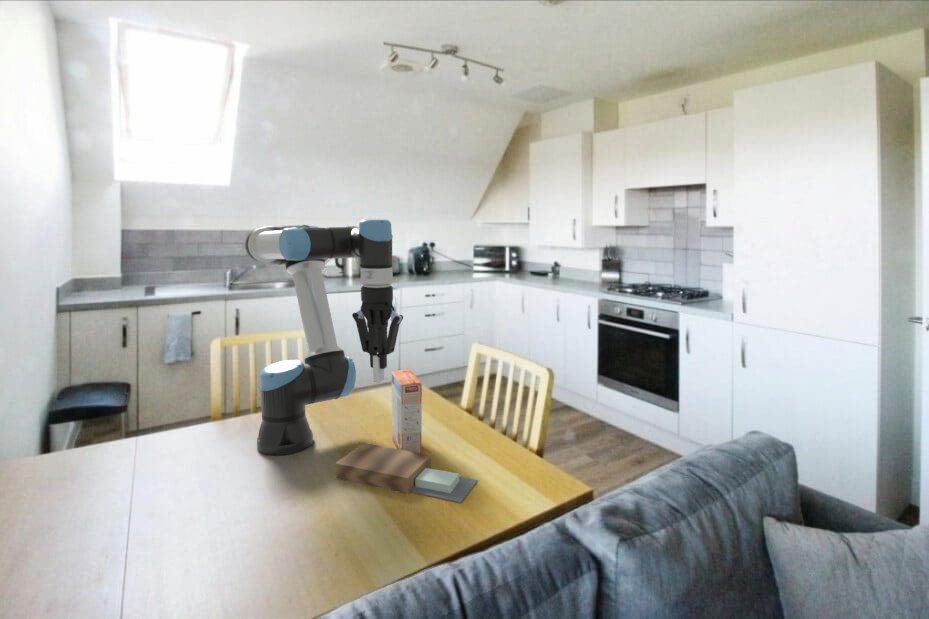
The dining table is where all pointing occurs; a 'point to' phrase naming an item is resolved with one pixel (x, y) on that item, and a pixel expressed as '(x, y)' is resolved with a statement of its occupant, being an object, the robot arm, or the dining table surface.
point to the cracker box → (406, 411)
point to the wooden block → (382, 467)
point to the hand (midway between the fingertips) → (378, 380)
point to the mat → (455, 495)
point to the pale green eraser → (437, 480)
